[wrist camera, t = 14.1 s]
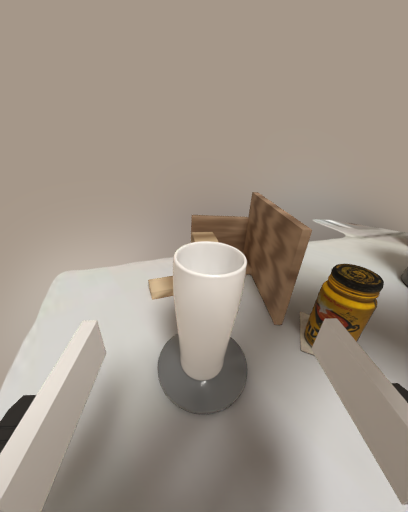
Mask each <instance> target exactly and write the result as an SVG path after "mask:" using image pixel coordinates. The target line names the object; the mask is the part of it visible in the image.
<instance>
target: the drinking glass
mask: <svg viewBox="0 0 408 512" xmlns="http://www.w3.org/2000/svg"><path fill="white" fill-rule="evenodd" d="M246 267H247V259H246V257H245V255H244V254H243V253H242V252H241V251H239V250H238V249H236V248H234V247H232V246H230V245H227V244H223V243H219V242H210V241H201V242H193V243H189V244H186V245H184V246H182V247H180V248H179V249H178V250H177V251H176V252H175V254H174V257H173V295H174V305H175V313H176V321H177V329H178V337H179V345H180V362H181V366H182V368H183V370H184V372H185V373H186V374H187V375H188V376H189V377H191V378H193V379H195V380H199V381H205V380H210V379H212V378H214V377H215V376H217V375H218V374H219V372H220V371H221V369H222V367H223V363H224V357H225V353H226V350H227V346H228V343H229V339H230V336H231V333H232V329H233V326H234V323H235V319H236V316H237V313H238V309H239V306H240V302H241V298H242V294H243V288H244V282H245V275H246Z"/></svg>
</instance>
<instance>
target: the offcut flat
mask: <svg viewBox="0 0 408 512" xmlns="http://www.w3.org/2000/svg"><path fill="white" fill-rule="evenodd" d="M148 281H149V289H150V293H151V297H152V300H153V299H159V298H164V297H169V296H174V295H173V276H169V277H163V278H157V279H151V280H148Z"/></svg>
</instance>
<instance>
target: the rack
mask: <svg viewBox="0 0 408 512" xmlns="http://www.w3.org/2000/svg"><path fill="white" fill-rule="evenodd" d="M192 232H213V233H214V235H215V237H216V238H217V240H218V242H219V243H223V244H227V245H230V246H232V247H234V248H236V249H238V250H239V251H241V252H242V253H243V254H244V255H245V257H246V259H247V267H246V274H249V275H252V277H253V279H254V282H255V284H256V286H257V288H258V290H259V292H260V295H261V297H262V299H263V301H264V303H265V305H266V307H267V310H268V312H269V314H270V316H271V318H272V320H273V322H274V325H282V323H283V320H284V317H285V314H286V310H287V307H288V304H289V301H290V298H291V295H292V292H293V289H294V285H295V282H296V279H297V276H298V273H299V270H300V267H301V264H302V260H303V257H304V254H305V251H306V248H307V245H308V242H309V238H310V235H311V232H312V230H311V229H310V228H309V227H307V226H306V225H304V224H303V223H301V222H300V221H298V220H297V219H296V218H294V217H293V216H291V215H290V214H288V213H287V212H285V211H284V210H282V209H281V208H279V207H278V206H277V205H275V204H273V203H272V202H271V201H269V200H268V199H266V198H265V197H264V196H262V195H261V194H259V193H256V192H253V193H252V199H251V205H250V211H249V217H234V216H233V217H232V216H207V215H206V216H205V215H192V225H191V237H192Z"/></svg>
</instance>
